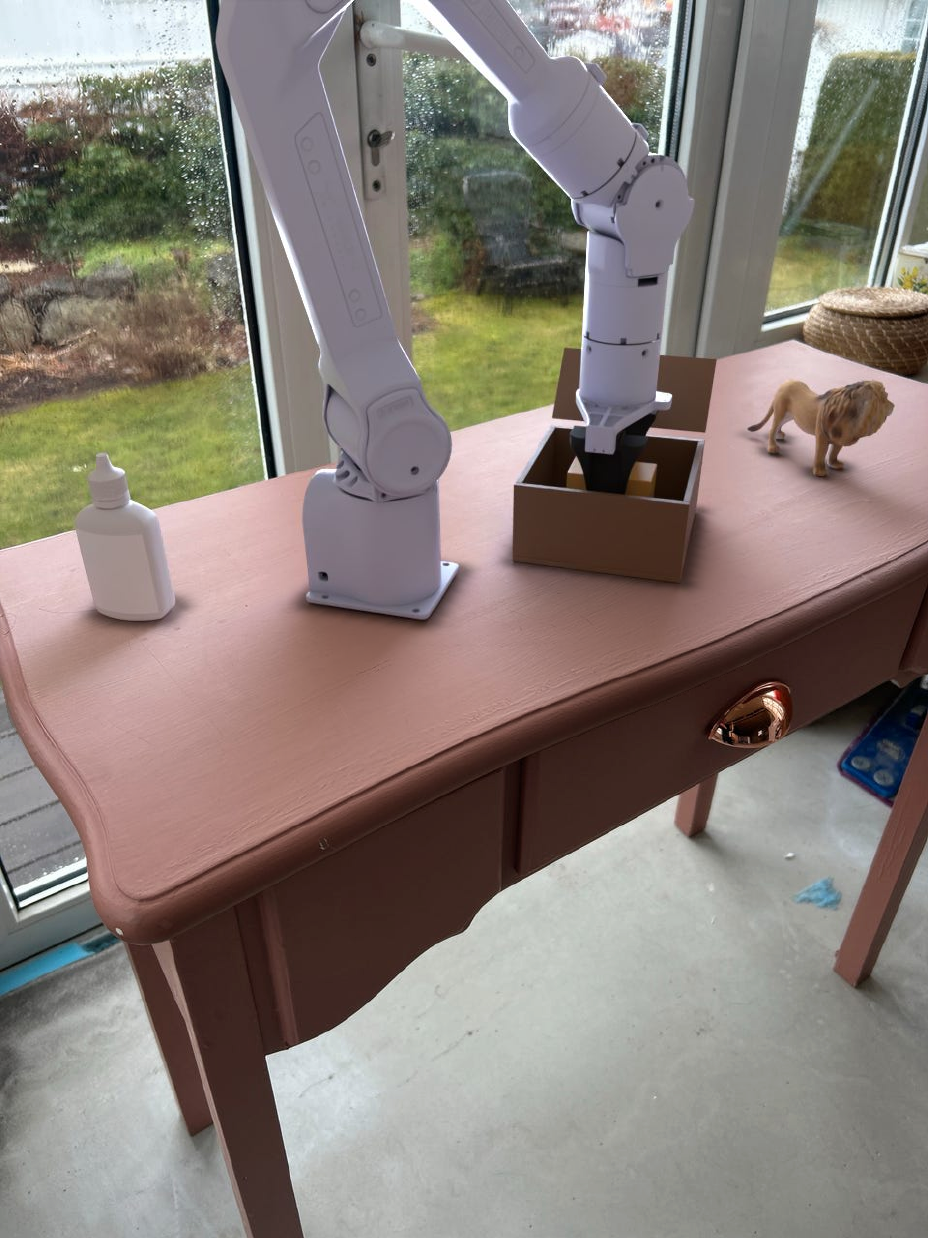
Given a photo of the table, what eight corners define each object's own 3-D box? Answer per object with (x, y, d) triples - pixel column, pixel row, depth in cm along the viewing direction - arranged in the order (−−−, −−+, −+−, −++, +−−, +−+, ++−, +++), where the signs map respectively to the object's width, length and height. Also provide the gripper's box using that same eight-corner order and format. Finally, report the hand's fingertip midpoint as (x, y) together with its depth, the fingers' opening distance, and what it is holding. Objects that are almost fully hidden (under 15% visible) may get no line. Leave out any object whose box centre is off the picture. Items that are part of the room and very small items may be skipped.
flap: (564, 347, 82) (564, 348, 83) (551, 417, 81) (552, 418, 82) (716, 358, 79) (716, 360, 79) (705, 431, 78) (705, 432, 79)
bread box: (512, 561, 75) (513, 484, 71) (548, 494, 85) (550, 424, 82) (679, 583, 72) (689, 504, 68) (695, 510, 82) (705, 439, 79)
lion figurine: (887, 476, 88) (910, 381, 83) (849, 490, 85) (871, 392, 80) (763, 429, 98) (778, 342, 93) (727, 440, 96) (740, 351, 91)
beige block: (564, 525, 76) (566, 472, 74) (573, 507, 79) (576, 455, 77) (646, 535, 75) (651, 481, 72) (652, 516, 77) (657, 463, 75)
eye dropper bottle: (131, 635, 66) (94, 475, 60) (88, 608, 69) (48, 453, 63) (184, 610, 69) (154, 455, 63) (141, 585, 72) (108, 435, 66)
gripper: (665, 368, 62) (647, 552, 69) (688, 312, 74) (670, 475, 81) (559, 360, 64) (552, 540, 71) (597, 306, 75) (587, 466, 83)
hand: (609, 505), depth 76 cm, fingers closed on beige block, 3 cm apart
